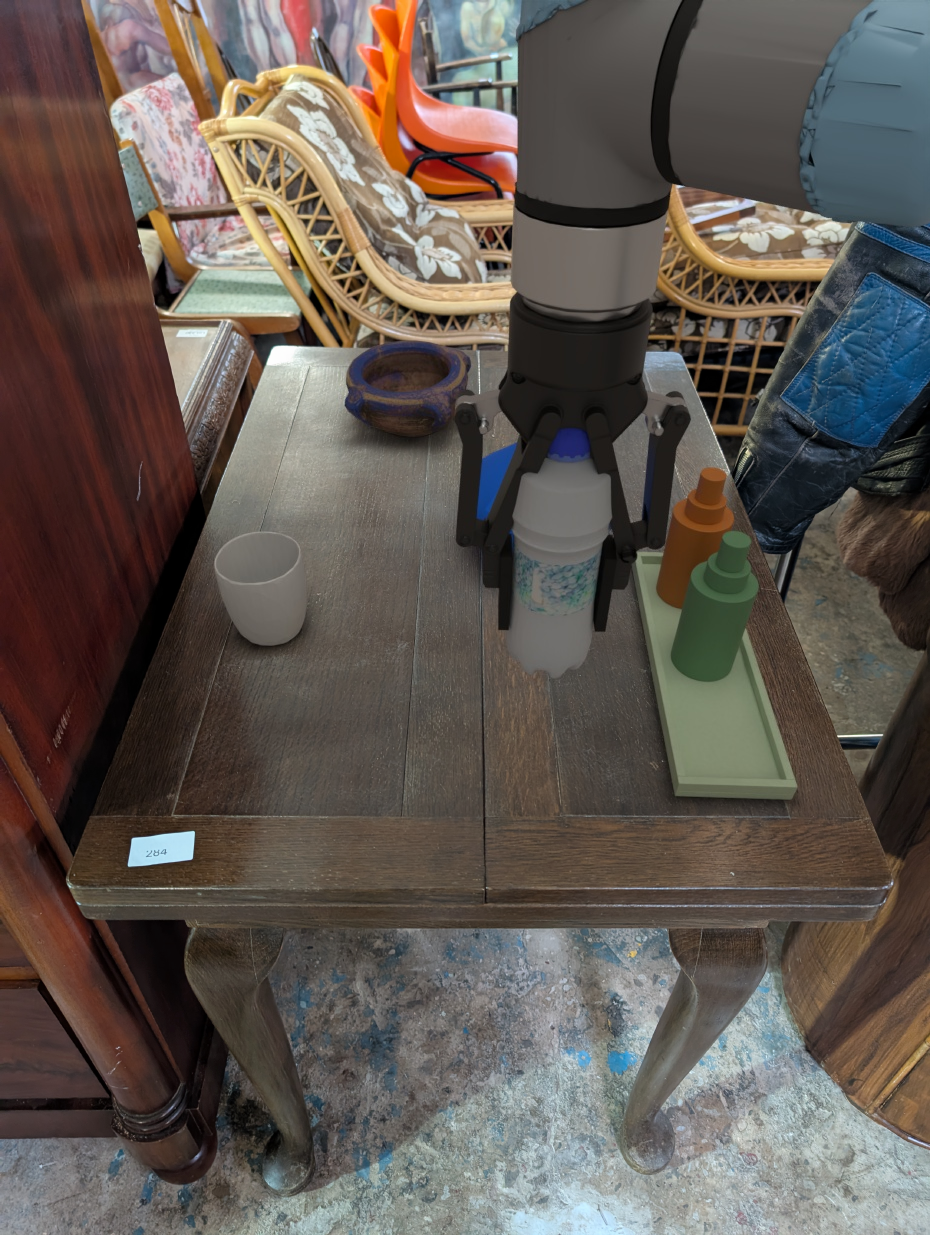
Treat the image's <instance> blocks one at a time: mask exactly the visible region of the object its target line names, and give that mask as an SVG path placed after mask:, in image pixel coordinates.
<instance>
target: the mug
mask: <svg viewBox="0 0 930 1235" xmlns="http://www.w3.org/2000/svg"><path fill="white" fill-rule="evenodd" d="M213 562H214V563H213V566H214V567H213V568H214V573H215V577H216V582H217V586H218V590H219V593H220V596H221V600H222V601H223V604H224V606H225V609H226V611H227V613H228V616H229V619H230V620H231V622H232V623H233V624H234V627H235V628H236V629H237V631H238V632H239V634H240V635H241V636H242V637H244V638H245V639H246V640H248V641H249V642H251V644H256V645H258V646H269V647H270V646H272V647H273V646H279V645H282V644H283V645H284V644H285V643H288V642H290V640H293V638H295V637H296V636H297V635H298V634H299V633H300V631H301V630H302V627H303V626H304V622H305V619H306V613H307V606H308V588H307V586H308V585H307V584H308V583H307V572H306V568H305V562H304V556H303V552H302V548H301V547H300V545H299V543H298V542H297V540H295V539H294V538H293V537H291V536H290V535H287V534H283V533H280V532H277V531H253V532H247V533H243V534H240V535H239V536H236V537H233V538H232V539H230V540H229V541H228V542H226V543H225V544H224V545H222V547H221V548H220V549H219V550H218V552H217V554H216V556H215V558H214V561H213Z"/></svg>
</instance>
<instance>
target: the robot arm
mask: <svg viewBox="0 0 930 1235" xmlns="http://www.w3.org/2000/svg"><path fill="white" fill-rule="evenodd" d="M519 14H520V16H519V24H518V25H517V27H516V30H515V42H516V43H517V121H516V122H517V134H516V135H517V138H516V139H517V141H516V142H517V143H516V144H517V146H516V147H517V151H516V152H517V157H516V159H517V161H516V181H515V182H514V199H513V200H514V201H513V206H512V230H511V231H512V232H511V256H510V257H511V260H510V284H511V287H512V288H513V289H514V290H515V291H516V292H515V293H514V294H513V295H512V297H511V298H510V300H509V315H508V317H509V318H508V343H507V344H508V346H507V368H506V371H505V374H504V375H503V377H502V378H501V380H500V382H499V384H498V387H497V388H496V389H492V390H489V391H485V392H481V393H477V394H475V392H474V391H472V390H471V389H467V388H466V389H464V390H461V391H459V392H458V394H457V396H456V404H455V417H454V423H455V426H456V429H457V432H458V435H459V438H460V441H461V444H462V446H461V447H462V448H461V458H460V463H461V464H460V473H459V486H458V500H457V513H456V526H455V527H456V528H455V543H456V544H457V545H458V546H459V547H461V548H469V547H471V546H473V547H476V548H477V549H479V550H480V551H481V552H482V584H483V586H484V588H485V589H498V596H497V600H498V601H497V623H498V624H497V630H498V631H506V630H509V616H510V595H511V575H512V534H511V533H509V532H510V530H511V528H512V526H513V523H514V520H513V512H514V509H515V505H516V501H517V496H518V491H519V487H520V482H521V477H522V476H523V474H525V473H528V472H531V473H535V474H538V472H539V470H540V468H541V466H542V464H543V461H544V459H545V458H549V457H548V452H549V448H550V446H551V444H552V441H553V440H554V439H555V437H556V435H557V433H558V431H559V430H560V429H565V428H577V429H582V430H585V431H586V432H587V433H588V437H589V440H590V458H594V460H595V464H596V469H597V473H598V475H599V474H603V473H605V474H608V475H609V476H610V478H611V511H612V519H611V521H610V524H611V528H612V529H611V532H612V534H608V535H607V537H606V538H605V540H604V541H603V544H602V551H601V558H600V565H599V572H598V579H597V586H596V592H595V598H594V616H593V630H594V632H595V633H606V630H607V629H606V628H607V624H608V618H609V612H610V607H611V606H610V605H611V600H612V599H611V598H612V593H613V591H614V590H615V591H618V590H621V591H624V590H625V589H626V588H627V586H628V585H629V580H630V576H631V570H632V563H634V562H635V561H636V560H637V552H639V550H642V549H645V548H648V549H650V550H652V551H653V550H654V551H656V550H660V549H662V548H663V547H665V544H666V539H667V535H668V525H669V524H668V523H669V518H670V517H669V515H670V509H671V500H672V491H673V490H672V489H673V484H674V483H673V482H674V475H675V466H676V458H677V450H678V447H679V444H680V443H681V441H682V439H683V437H684V436H685V433H686V432H687V430H688V428H689V426H690V424H691V420H692V418H691V417H692V416H691V414H690V411H689V408H688V406H687V404H686V401H685V398H684V395H683V394H682V392H680V391H678V390H672V391H669V392H667V393H666V394H664V395H663V394H661V393H657V392H653V391H650V390H647V389H646V384H645V381H644V378H643V376H644V375H643V374H644V368H645V361H646V356H647V350H648V342H649V336H650V330H651V323H652V316H653V311H654V308H653V304H652V303H651V301H650V300H649V299H650V298H651V297H652V296H653V295H654V293H655V292H656V291H657V287H658V286H657V285H658V279H659V272H660V267H661V266H660V265H661V258H662V253H663V245H664V239H665V231H666V224H667V220H668V219H667V218H668V211H669V208H670V202H671V194H672V188H673V185H676V186H680V187H686V188H691V189H697V190H702V191H706V192H711V193H715V194H721V195H725V196H730V197H735V198H739V199H743V200H749V201H754V202H758V203H763V204H768V205H774V206H778V207H783V208H787V209H791V210H796V211H802V212H806V213H811V214H816V215H820V216H821V217H823V218H826V219H831V221H832V222H836V223H841V224H852V223H858V222H861V223H870V224H879V225H889V226H890V225H891V226H896V227H897V226H898V227H904V228H916V227H917V228H918V227H922V226H926V225H928V224H930V0H521V2H520V13H519ZM499 413H503V415H504V416H505V417H506V419H507V420H508V421H509V423H510V424H511V425H512V427H513V428H514V430H515V431H516V432H517V434H518V437H517V439H516V440H517V441H516V442H517V445H516V449H515V451H514V453H513V456H512V458H511V461H510V463H509V466H508V468H507V470H506V473H505V475H504V478H503V480H502V482H501V485H500V487H499V490H498V492H497V495H496V497H495V499H494V502H493V504H492V507H491V509H490V511H489V514H488V516H487V519H486V518H484V520H481V519H478V518H477V508H478V497H479V487H480V477H481V466H482V459H483V455H484V435H486V434H487V433H489V432H490V431H492V430H493V428H494V420H495V417H496V416H497V415H498V414H499ZM642 414H643V415H645V416H644V422H645V425H646V429H647V431H648V433H649V434H648V445H647V457H646V466H645V477H644V487H643V488H644V489H643V500H642V509H641V510H642V511H641V519H639V520H636V521H633V522H631V519H630V515H629V509H628V506H627V502H626V497H625V491H624V487H623V484H622V478H621V475H620V470H619V466H618V461H617V457H616V454H615V448H614V442H616V440H618V438H620V436H621V435H622V434H623V433H624V432H625V431H626V430H627V429H628V428H629V427H630V426H632V424H633V423H634V422H635V421H636V420H637V419H638V418H639V417H640V416H641V415H642Z"/></svg>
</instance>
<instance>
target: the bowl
mask: <svg viewBox="0 0 930 1235" xmlns="http://www.w3.org/2000/svg"><path fill="white" fill-rule="evenodd" d="M471 368H472V361H471V358H470V356H468V355H467V354H466V353H465V352H464V351H463V350H461V349H459V348H454V347H450V346H446V345H443V344H438V343H435V342H431V341H423V340H413V339H412V340H397V341H392V342H390V341H389V342H386V343H381V344H377V345H373V346H371V347H370V348H368V349H366V350H365V351H363V352H362V353H360V354H359V355H358V356H356V357H354V359H352V360H351V362H350V364H349V365H348V367H347V370H346V375H345V385H346V388H347V392H348V393H347V395H346V397H345V399H344V405H343V406H344V407H345V409H346V410H347V412H348V413H349V414H351V415H352V416H353V417H354V418H355V419H357V420H358V421H360V422H361V423H363V424H365V426H368V427H370V428H375V429H378V430H381V431H383V432H386V433H389V434H393V435H396V436H402V437H411V438H413V437H414V438H416V437H423V436H428V435H431V434H434V433H436V432H438V431H439V430H442V429H443V428H444V427H445V426H446V425H448V424H449V423H450V422H451V421H452V420H453V419H455V404H456V396H457V394H458V392H459V391H461V390H464V389H467V387H468V381H469V374H468V373H469V372H470V370H471Z"/></svg>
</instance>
